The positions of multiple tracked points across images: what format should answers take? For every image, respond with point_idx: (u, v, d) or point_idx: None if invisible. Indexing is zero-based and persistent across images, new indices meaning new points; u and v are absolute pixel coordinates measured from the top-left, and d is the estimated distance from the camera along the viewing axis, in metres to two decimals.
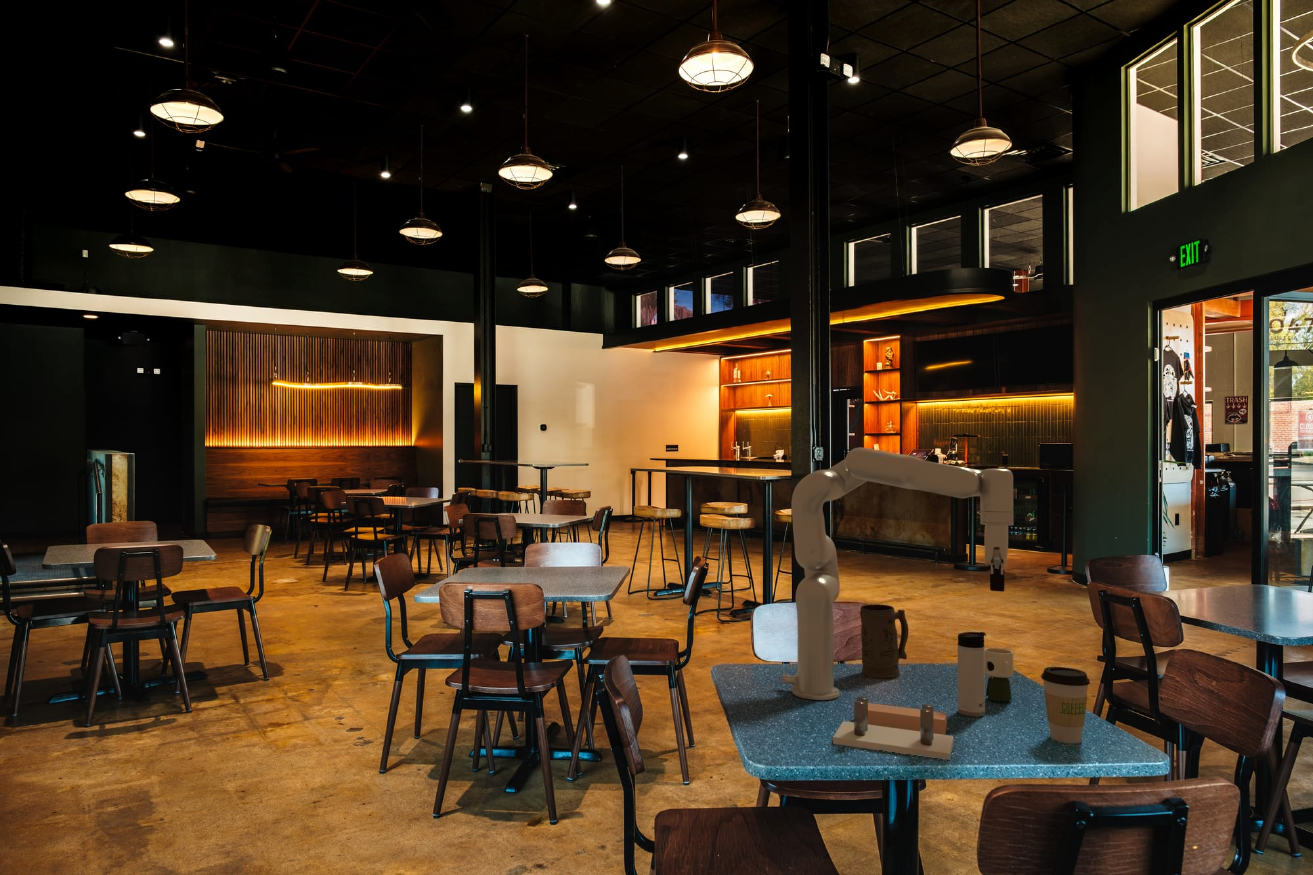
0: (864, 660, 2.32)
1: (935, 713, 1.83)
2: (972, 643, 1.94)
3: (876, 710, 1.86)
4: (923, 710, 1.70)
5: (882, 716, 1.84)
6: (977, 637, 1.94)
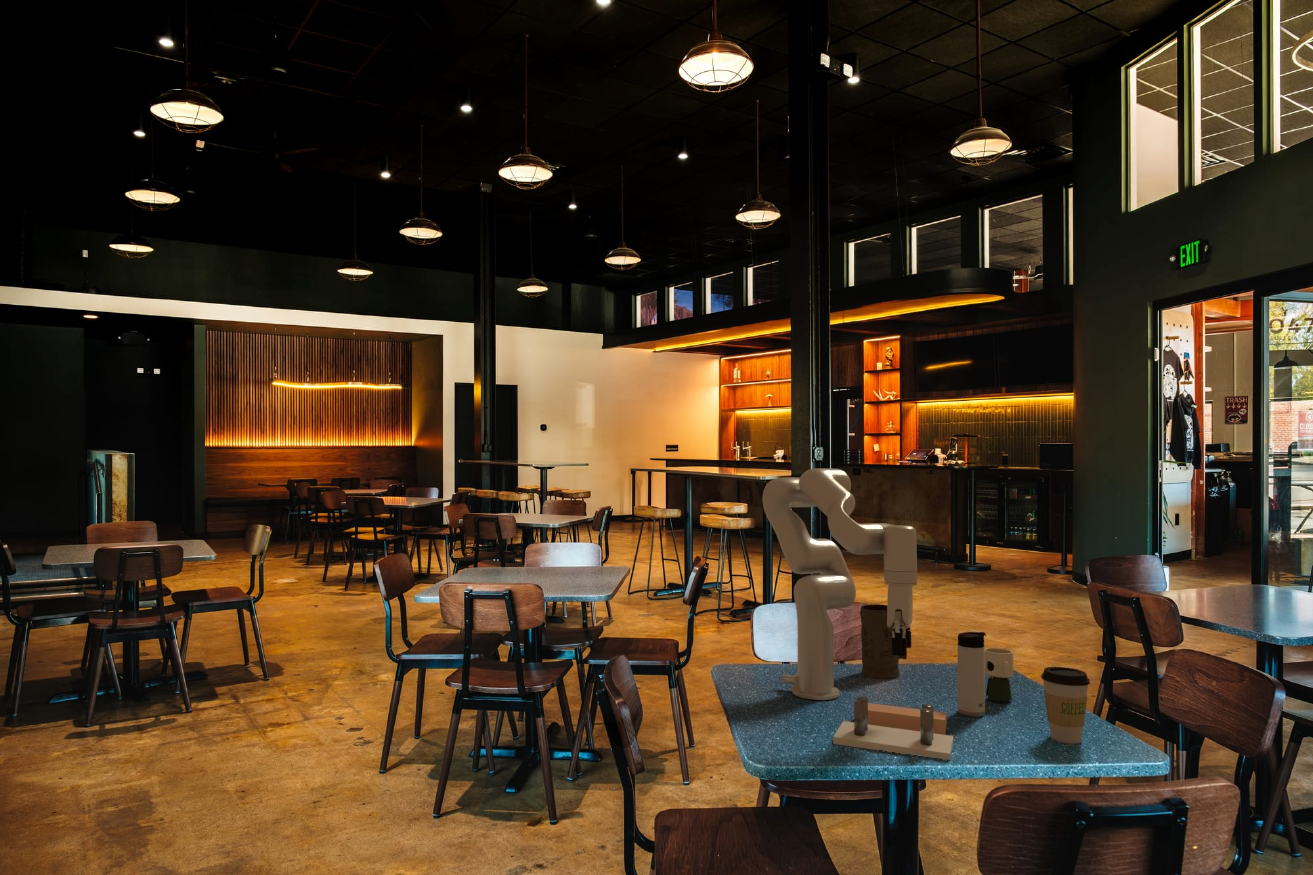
0: (864, 660, 2.32)
1: (935, 713, 1.83)
2: (972, 643, 1.94)
3: (876, 710, 1.86)
4: (923, 710, 1.70)
5: (882, 716, 1.84)
6: (977, 637, 1.94)
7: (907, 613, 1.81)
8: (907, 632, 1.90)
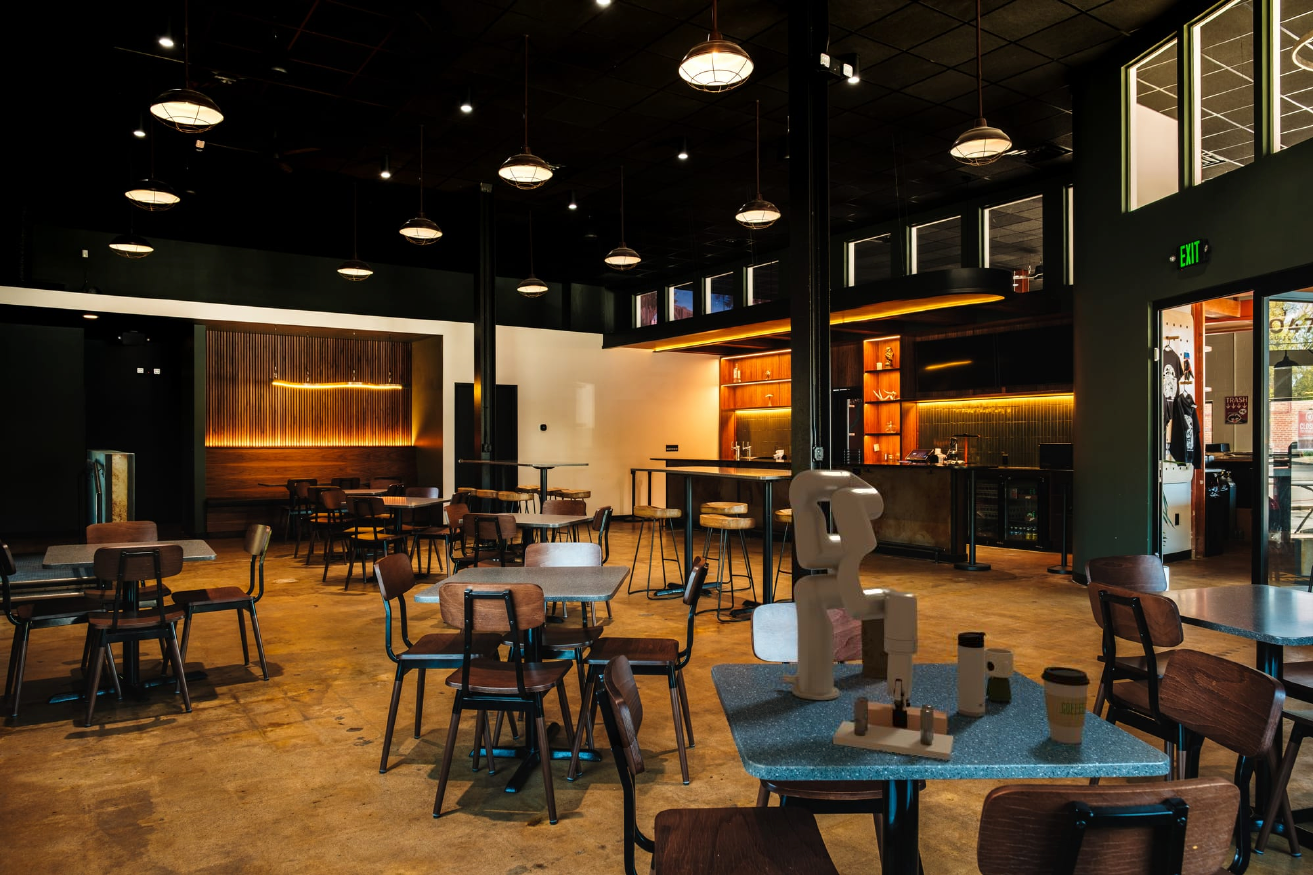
0: (864, 660, 2.32)
1: (936, 712, 1.83)
2: (972, 643, 1.94)
3: (876, 709, 1.85)
4: (923, 710, 1.70)
5: (882, 715, 1.84)
6: (977, 637, 1.94)
7: (907, 683, 1.81)
8: (906, 704, 1.88)
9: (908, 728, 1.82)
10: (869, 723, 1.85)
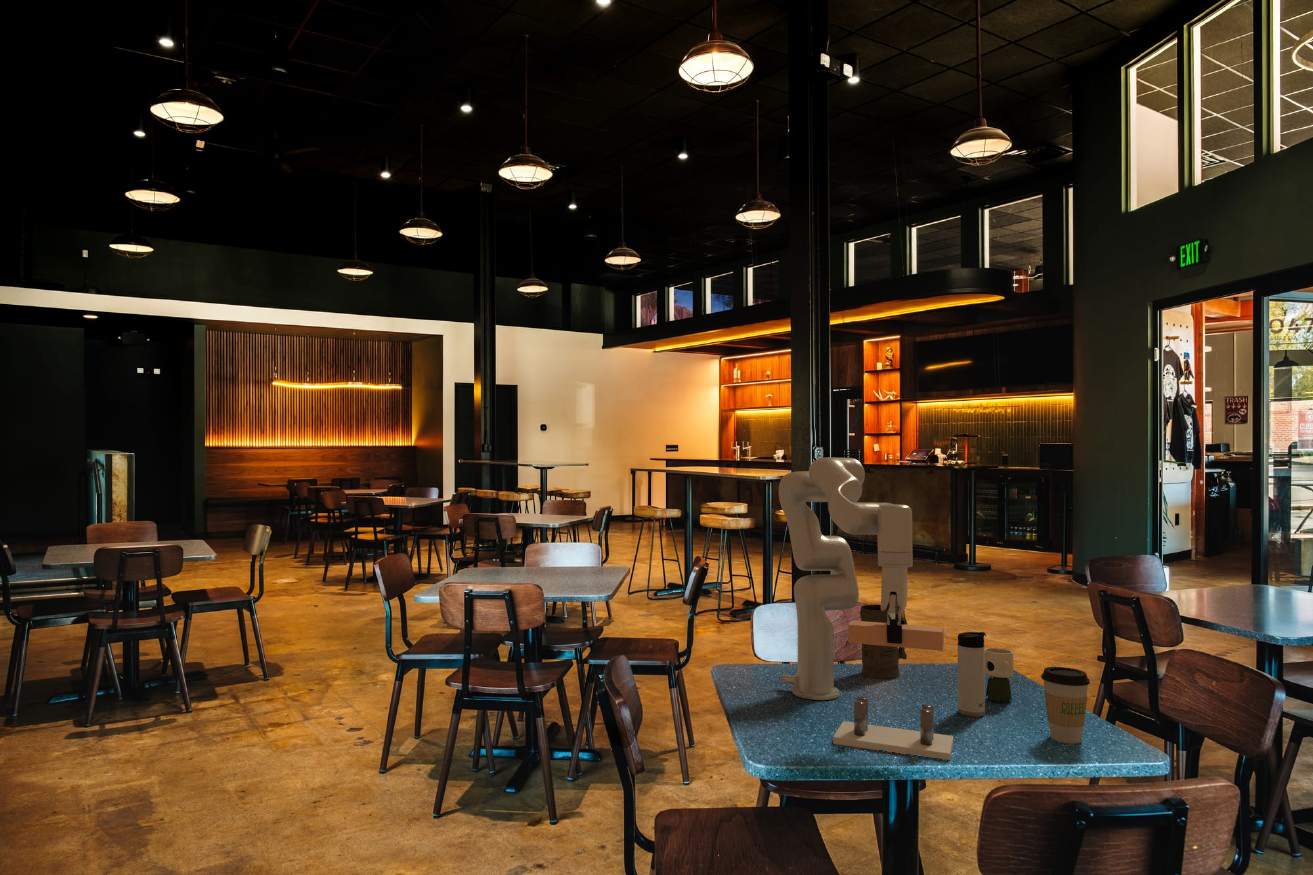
0: (864, 660, 2.32)
1: (932, 628, 1.75)
2: (972, 643, 1.94)
3: (870, 625, 1.77)
4: (923, 710, 1.70)
5: (876, 631, 1.76)
6: (977, 637, 1.94)
7: (902, 596, 1.73)
8: (901, 621, 1.80)
9: (903, 644, 1.74)
10: (862, 640, 1.77)
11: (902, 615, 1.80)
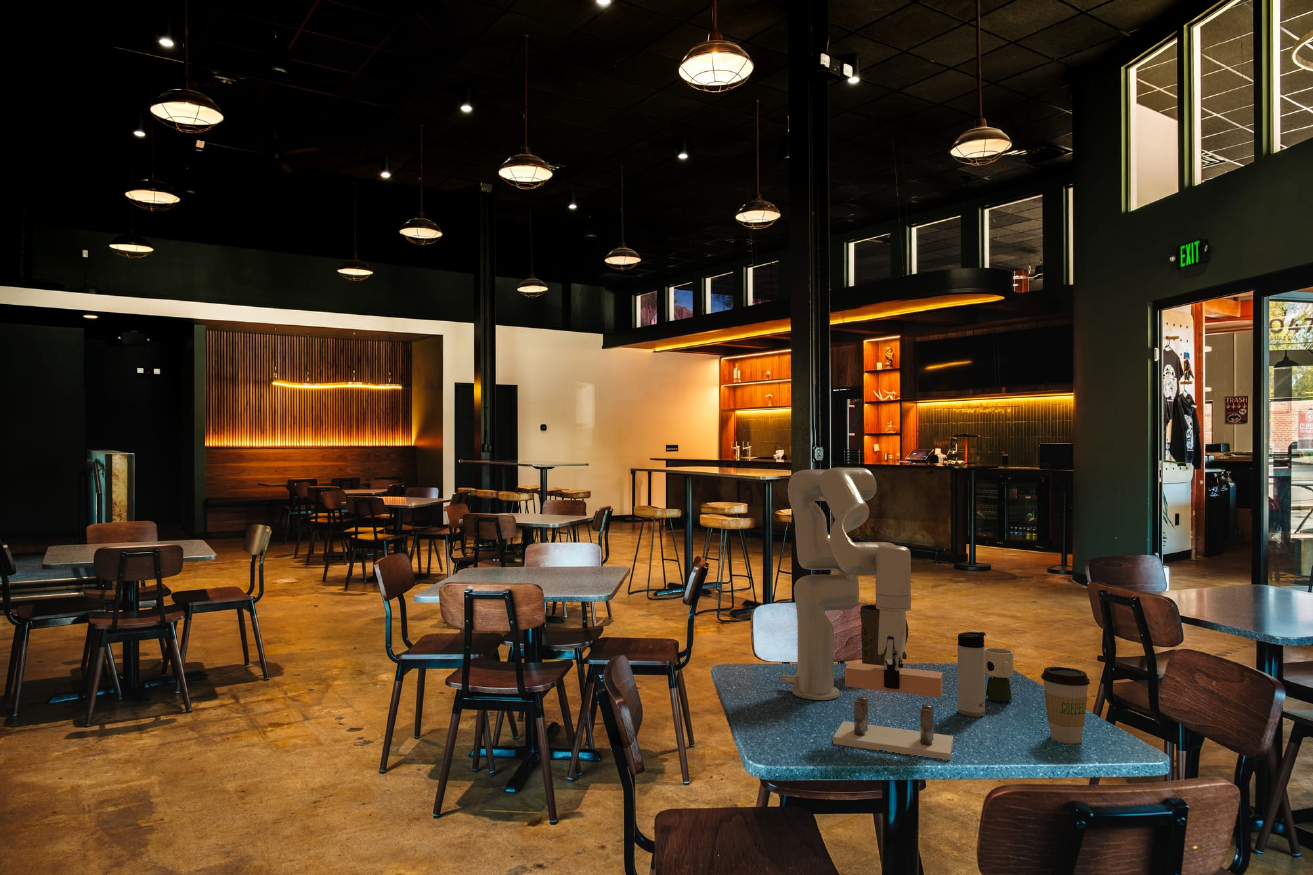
0: (864, 660, 2.32)
1: (930, 672, 1.72)
2: (972, 643, 1.94)
3: (867, 669, 1.74)
4: (923, 710, 1.70)
5: (873, 675, 1.73)
6: (977, 637, 1.94)
7: (899, 641, 1.69)
8: (899, 665, 1.77)
9: (901, 689, 1.70)
10: (859, 684, 1.74)
11: (900, 658, 1.77)
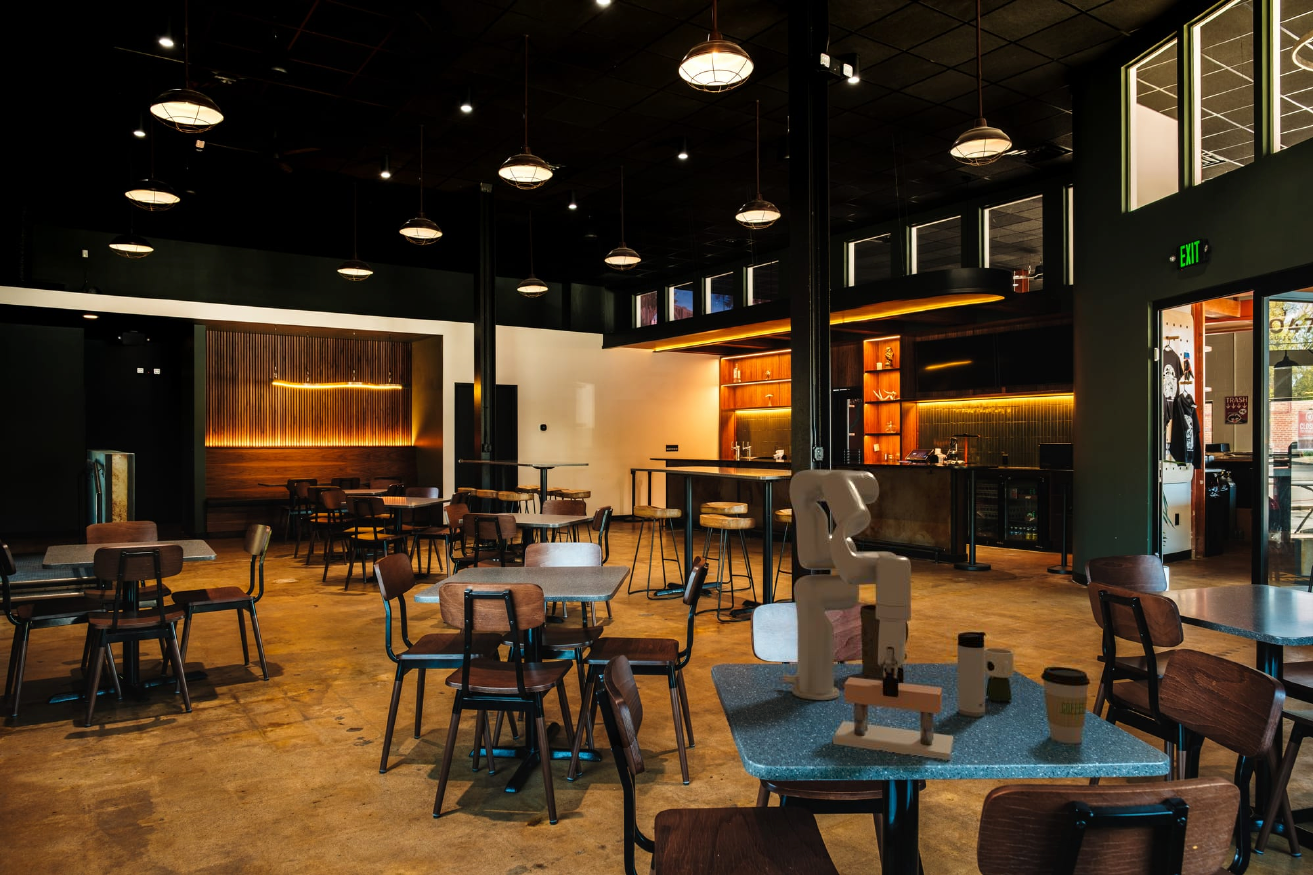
0: (864, 660, 2.32)
1: (929, 688, 1.72)
2: (972, 643, 1.94)
3: (867, 685, 1.74)
4: None
5: (873, 691, 1.73)
6: (977, 637, 1.94)
7: (899, 651, 1.69)
8: (899, 669, 1.78)
9: (900, 705, 1.71)
10: (859, 700, 1.74)
11: (901, 663, 1.78)
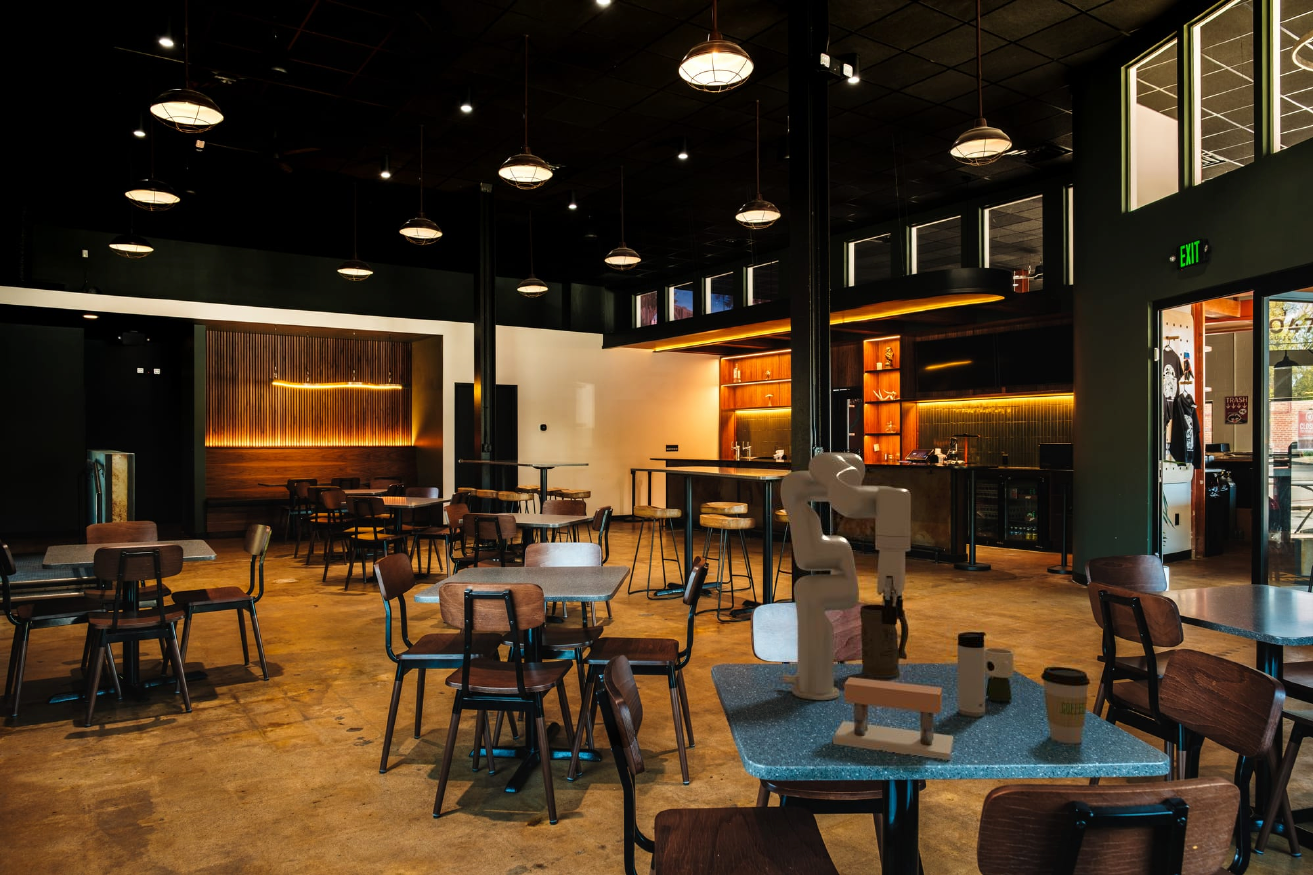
0: (864, 660, 2.32)
1: (929, 688, 1.72)
2: (972, 643, 1.94)
3: (867, 685, 1.74)
4: None
5: (873, 691, 1.73)
6: (977, 637, 1.94)
7: (898, 580, 1.72)
8: (898, 600, 1.80)
9: (900, 705, 1.71)
10: (859, 700, 1.74)
11: (900, 594, 1.80)
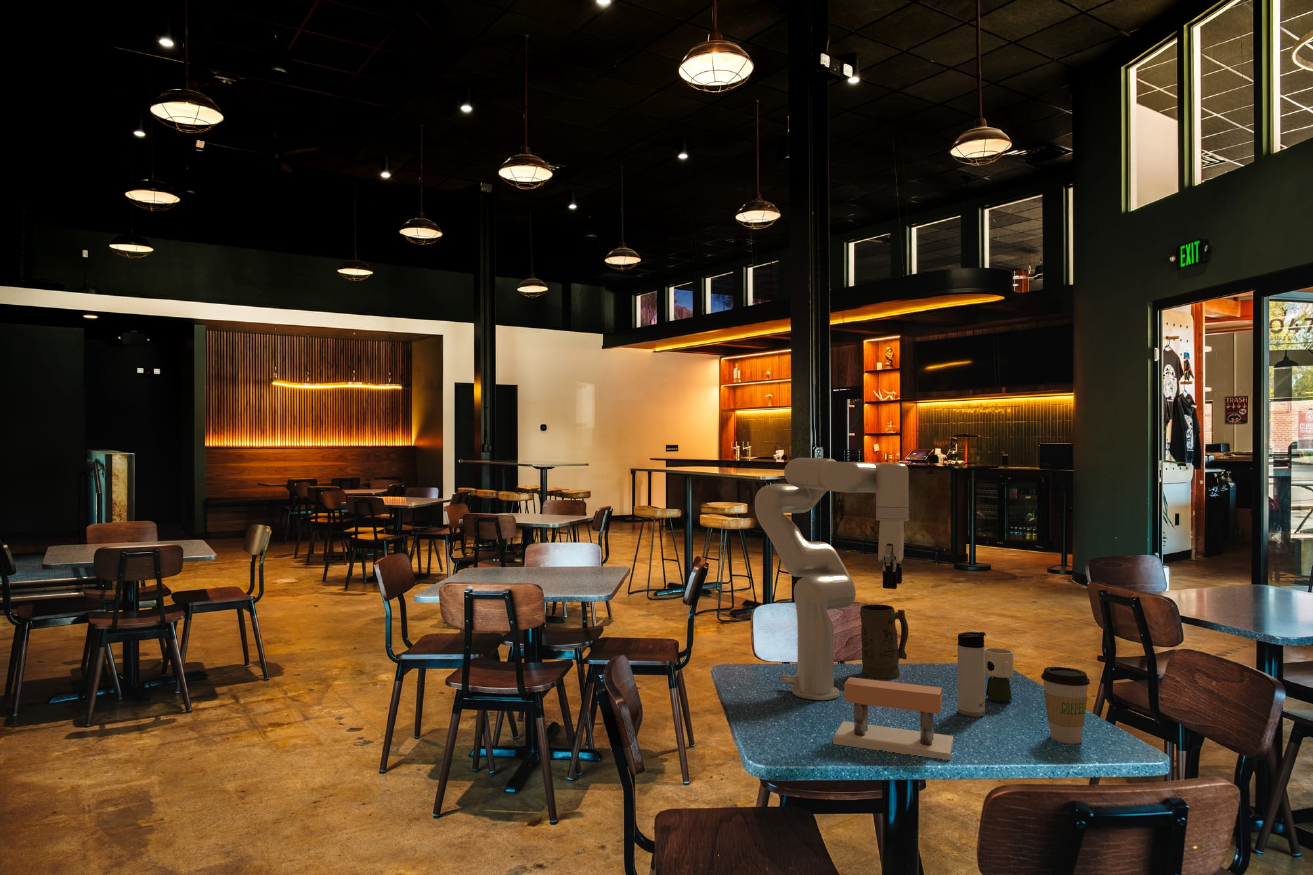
0: (864, 660, 2.32)
1: (929, 688, 1.72)
2: (972, 643, 1.94)
3: (867, 685, 1.74)
4: None
5: (873, 691, 1.73)
6: (977, 637, 1.94)
7: (898, 547, 1.85)
8: (898, 568, 1.93)
9: (900, 705, 1.71)
10: (859, 700, 1.74)
11: (899, 562, 1.94)
